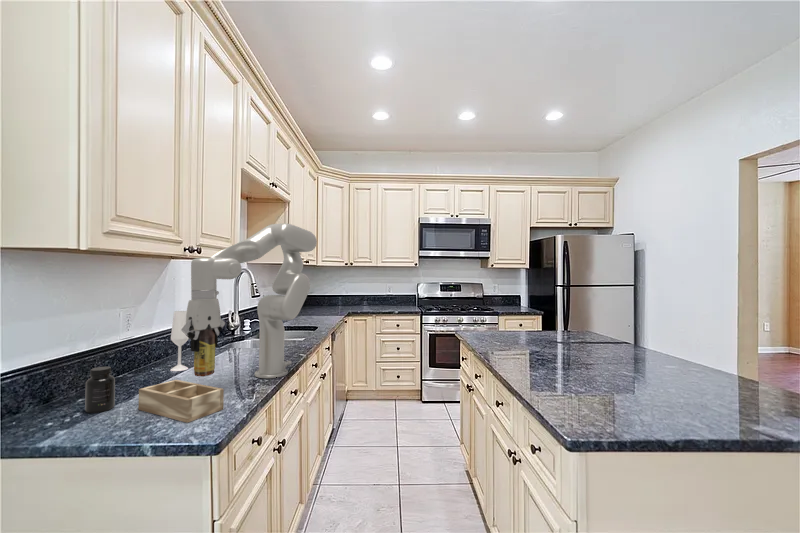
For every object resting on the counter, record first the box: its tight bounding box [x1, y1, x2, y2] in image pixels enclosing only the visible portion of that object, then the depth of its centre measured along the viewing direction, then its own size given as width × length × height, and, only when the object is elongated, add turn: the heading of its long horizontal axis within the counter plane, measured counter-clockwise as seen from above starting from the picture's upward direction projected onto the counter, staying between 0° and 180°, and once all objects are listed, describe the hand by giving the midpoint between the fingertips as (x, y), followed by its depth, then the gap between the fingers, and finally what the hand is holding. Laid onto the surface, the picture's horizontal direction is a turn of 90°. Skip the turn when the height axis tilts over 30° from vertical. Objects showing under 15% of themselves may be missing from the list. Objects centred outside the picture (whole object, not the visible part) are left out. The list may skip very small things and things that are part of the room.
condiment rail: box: [137, 379, 225, 424], centre depth 112 cm, size 11×22×6 cm, turn 65°
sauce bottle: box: [193, 316, 216, 377], centre depth 127 cm, size 7×6×20 cm
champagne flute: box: [169, 310, 190, 372], centre depth 159 cm, size 7×7×24 cm
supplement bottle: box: [84, 366, 116, 414], centre depth 112 cm, size 7×7×12 cm
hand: (204, 348), depth 127 cm, fingers closed on sauce bottle, 6 cm apart
